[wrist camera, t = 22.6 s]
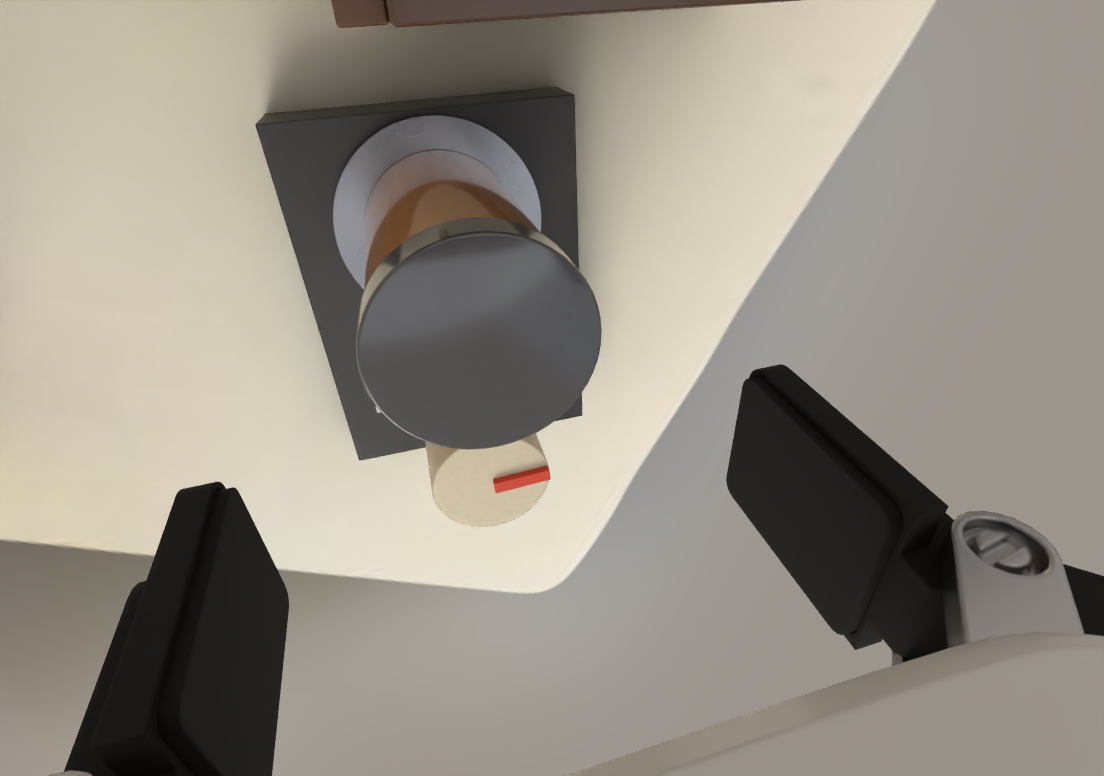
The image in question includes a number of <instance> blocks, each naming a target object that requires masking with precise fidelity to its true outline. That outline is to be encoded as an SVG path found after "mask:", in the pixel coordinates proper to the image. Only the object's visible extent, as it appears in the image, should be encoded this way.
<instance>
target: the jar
mask: <svg viewBox="0 0 1104 776" xmlns="http://www.w3.org/2000/svg"><path fill="white" fill-rule="evenodd" d="M600 345H601V318H600V313H599V309H598V304H597V301H596V299H595V296H594V294H593V291H592V289H591V288H590V286H589V284H588V282H587V281H586V279H585V277H584V276H583V275H582V274H581V272H580V271H579V270H578V269H577V267H576V266H575V265H574V264H573V262H572V261H571V260H570V259H569V257H568V256H567V255H566V254H565V252H564V251H563V250H561V249H560V248H559V247H558V246H557V245H556V244H555V243H554V242H553V241H551V240H550V239H549V238H547V237H546V236H544V235H543V234H541V233H540V232H539V230H538V229H537V228H536V226H535V225H534V224H533V222H532V221H531V220H530V219H529V217H528V216H527V215H526V213H525V212H524V211H523V209H522V208H521V207H520V206H519V204H518V203H517V202H516V200H515V199H514V198H513V196H512V195H511V194H510V193H509V191H508V190H507V189H506V187H505V186H504V185H503V183H502V182H501V181H500V180H499V178H498V177H497V176H496V175H495V174H494V173H493V172H492V171H491V170H490V169H489V168H488V167H486V166H485V165H484V164H482V163H481V162H479V161H477V160H475V159H474V158H472V157H469V156H467V155H464V154H461V153H457V152H453V151H445V150H431V151H425V152H420V153H417V154H414V155H411V156H408V157H406V158H404V159H402V160H400V161H399V162H397V163H396V164H394V165H393V166H392V167H391V168H389V169H388V170H387V171H386V172H385V173H384V174H383V175H382V177H381V178H380V179H379V180H378V182H377V183H376V185H375V187H374V188H373V190H372V192H371V195H370V197H369V199H368V203H367V207H366V213H365V291H364V293H363V295H362V299H361V302H360V306H359V310H358V318H357V333H356V353H357V363H358V368H359V373H360V376H361V379H362V382H363V384H364V387H365V389H366V391H367V393H368V395H369V396H370V398H371V400H372V401H373V403H374V404H375V405H376V407H377V408H378V409H379V410H380V412H381V413H382V414H383V415H384V416H385V417H386V418H387V419H388V420H389V421H391V422H392V423H393V424H394V425H396V426H397V427H398V428H400V429H401V430H403V431H404V432H406V433H408V434H410V435H411V436H413V437H415V438H418V439H420V440H422V441H425V442H427V443H431V444H434V445H438V446H441V447H447V448H454V449H468V450H471V449H486V448H492V447H499V446H502V445H506V444H510V443H513V442H516V441H519V440H521V439H524V438H526V437H528V436H530V435H532V434H535V433H537V432H538V431H540V430H542V429H543V428H545V427H546V426H548V425H550V424H551V423H552V422H554V421H555V420H556V419H557V418H559V417H560V416H561V415H562V414H563V413H564V412H565V411H566V410H567V409H568V408H570V407H571V405H572V404H573V403H574V402H575V401H576V399H577V398H578V397H579V396H580V394H581V393H582V391H583V390H584V388H585V387H586V385H587V384H588V381H589V379H590V377H591V375H592V373H593V371H594V368H595V365H596V363H597V360H598V355H599V350H600Z"/></svg>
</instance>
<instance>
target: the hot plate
mask: <svg viewBox="0 0 1104 776" xmlns="http://www.w3.org/2000/svg"><path fill="white" fill-rule="evenodd" d="M423 114H443V115H452V116H457V117H461V118H464V119H468V120H471V121H473V122H475V123H478V124H480V125H482V126H484V127H486V128H488V129H489V130H491V131H493V132H494V133H496V134H497V135H498V136H499V137H501V138H502V139H503V140H505V141H506V142H507V143H508V144H509V145H510V146H511V147H512V148H513V149H514V150H515V151H516V152H517V154H518V155H519V156H520V158H521V159H522V160H523V162H524V163H525V165H526V166H527V168H528V170H529V172H530V173H531V175H532V178H533V180H534V183H535V185H536V188H537V191H538V195H539V199H540V204H541V212H542V228H541V234H543V235H544V236H546V237H547V238H549V239H550V240H551V241H553V242H554V243H555V244H556V245H557V246H558V247H559V248H560V249H561V250H563V251H564V252H565V254H566V255H567V256H568V257H569V259H570V260H571V261H572V262H573V264H574V265H575V266H576V267H577V269H578V270H579V262H578V221H577V180H576V139H575V98H574V94H571V93H569V92H567V91H564V90H562V89H560V88H557V87H556V88H545V89H534V90H523V91H512V92H500V93H489V94H478V95H467V96H456V97H445V98H434V99H423V100H412V101H401V102H390V103H379V104H368V105H357V106H346V107H334V108H323V109H312V110H301V111H290V112H279V113H268V114H265V115H264V116H263V117H262V118H261V119H260V120H259V121H258V122H257V124H256V128H257V132H258V135H259V138H260V141H261V144H262V148H263V151H264V154H265V157H266V161H267V164H268V167H269V170H270V174H271V177H272V180H273V183H274V186H275V190H276V193H277V196H278V199H279V203H280V206H281V209H282V212H283V216H284V219H285V222H286V225H287V228H288V232H289V235H290V238H291V241H292V245H293V248H294V251H295V254H296V257H297V261H298V264H299V267H300V270H301V274H302V277H303V280H304V283H305V287H306V290H307V293H308V296H309V299H310V303H311V306H312V309H313V312H314V316H315V319H316V322H317V325H318V329H319V332H320V335H321V338H322V341H323V345H324V348H325V351H326V354H327V358H328V361H329V364H330V367H331V371H332V374H333V377H334V380H335V383H336V387H337V390H338V393H339V396H340V400H341V403H342V406H343V409H344V413H345V416H346V419H347V422H348V425H349V429H350V432H351V435H352V438H353V442H354V445H355V448H356V451H357V454H358V458H359V460H365V459H370V458H375V457H380V456H385V455H390V454H395V453H400V452H405V451H410V450H414V449H419V448H424V447H426V443H425V441H422V440H420V439H418V438H415V437H413V436H411V435H410V434H408V433H406V432H404V431H403V430H401V429H400V428H398V427H397V426H396V425H394V424H393V423H392V422H391V421H389V420H388V419H387V418H386V417H385V416H384V415H383V414H382V413H381V412H380V410H379V409H378V408H377V407H376V405H375V404H374V403H373V401H372V400H371V398H370V396H369V395H368V393H367V391H366V389H365V387H364V384H363V382H362V379H361V376H360V373H359V368H358V363H357V353H356V333H357V318H358V310H359V306H360V302H361V299H362V295H363V293H364V291H365V290H364V289H363V288H362V287H361V286H360V285H359V283H358V282H357V281H356V280H355V279H354V278H353V276H352V275H351V273H350V272H349V270H348V269H347V267H346V265H345V263H344V261H343V259H342V257H341V255H340V252H339V249H338V246H337V243H336V240H335V235H334V230H333V216H332V212H333V201H334V195H335V191H336V187H337V183H338V180H339V178H340V175H341V173H342V170H343V169H344V167H345V165H346V163H347V162H348V160H349V158H350V157H351V156H352V154H353V153H354V152H355V151H356V149H357V148H358V147H359V146H360V145H361V144H362V143H363V142H364V141H365V140H366V139H367V138H368V137H369V136H371V135H372V134H374V133H375V132H377V131H378V130H380V129H381V128H383V127H385V126H387V125H389V124H391V123H393V122H395V121H398V120H401V119H404V118H407V117H411V116H417V115H423ZM577 416H582V393H581V394H580V396H579V397H578V398H577V399H576V401H575V402H574V403H573V404H572V405H571V407H570V408H568V409H567V410H566V411H565V412H564V413H563V414H562V415H561V416H560V417H559V418H557V419H556V420H555V421H558V420H563V419H568V418H572V417H577Z"/></svg>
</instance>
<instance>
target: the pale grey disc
mask: <svg viewBox="0 0 1104 776" xmlns="http://www.w3.org/2000/svg"><path fill="white" fill-rule="evenodd" d="M431 150H445V151H453V152H457V153H461V154H464V155H467V156H469V157H472V158H474V159H475V160H477V161H479V162H481V163H482V164H484V165H485V166H486V167H488V168H489V169H490V170H491V171H492V172H493V173H494V174H495V175H496V176H497V177H498V178H499V180H500V181H501V182H502V183H503V185H504V186H505V187H506V189H507V190H508V191H509V193H510V194H511V195H512V196H513V198H514V199H515V200H516V202H517V203H518V204H519V206H520V207H521V208H522V209H523V211H524V212H525V213H526V215H527V216H528V217H529V219H530V220H531V221H532V222H533V224H534V225H535V226H536V228H537V229H538V230H539V232H540V233H541V228H542V212H541V204H540V199H539V195H538V191H537V188H536V185H535V183H534V180H533V178H532V175H531V173H530V172H529V170H528V168H527V166H526V165H525V163H524V162H523V160H522V159H521V158H520V156H519V155H518V154H517V152H516V151H515V150H514V149H513V148H512V147H511V146H510V145H509V144H508V143H507V142H506V141H505V140H503V139H502V138H501V137H499V136H498V135H497V134H496V133H494V132H493V131H491V130H489V129H488V128H486V127H484V126H482V125H480V124H478V123H475V122H473V121H471V120H468V119H464V118H461V117H457V116H452V115H443V114H423V115H417V116H411V117H407V118H404V119H401V120H398V121H395V122H393V123H391V124H389V125H387V126H385V127H383V128H381V129H380V130H378V131H377V132H375V133H374V134H372V135H371V136H369V137H368V138H367V139H366V140H365V141H364V142H363V143H362V144H361V145H360V146H359V147H358V148H357V149H356V151H355V152H354V153H353V154H352V156H351V157H350V158H349V160H348V162H347V163H346V165H345V167H344V169H343V170H342V173H341V175H340V178H339V180H338V183H337V187H336V191H335V195H334V201H333V212H332V216H333V230H334V235H335V240H336V243H337V246H338V249H339V252H340V255H341V257H342V259H343V261H344V263H345V265H346V267H347V269H348V270H349V272H350V273H351V275H352V276H353V278H354V279H355V280H356V281H357V282H358V283H359V285H360V286H361V287H362V288H363V289H364V290H365V213H366V207H367V203H368V199H369V197H370V195H371V192H372V190H373V188H374V187H375V185H376V183H377V182H378V180H379V179H380V178H381V177H382V175H383V174H384V173H385V172H386V171H387V170H388V169H389V168H391V167H392V166H393V165H394V164H396V163H397V162H399V161H400V160H402V159H404V158H406V157H408V156H411V155H414V154H417V153H420V152H425V151H431Z"/></svg>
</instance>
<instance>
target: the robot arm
mask: <svg viewBox="0 0 1104 776" xmlns="http://www.w3.org/2000/svg"><path fill="white" fill-rule="evenodd" d="M726 481H727V486H728V490H729V492H730V494H731V495H732V497H733V498H734V499H735V501H736V502H737V504H738V505H739V506H740V508H741V509H742V510H743V511H744V513H745V514H746V515H747V517H748V518H749V520H750V521H751V522H752V524H753V525H754V526H755V528H756V529H757V530H758V532H759V533H760V534H761V536H762V537H763V538H764V540H765V541H766V542H767V544H768V545H769V546H770V547H771V549H772V550H773V551H774V553H775V554H776V556H777V557H778V558H779V559H780V561H781V562H782V564H783V565H784V566H785V568H786V569H787V570H788V572H789V573H790V574H791V576H792V577H793V578H794V579H795V581H796V582H797V584H798V585H799V586H800V588H801V589H802V590H803V592H804V593H805V594H806V595H807V597H808V598H809V599H810V601H811V602H812V604H813V605H814V606H815V608H816V609H817V610H818V611H819V613H820V614H821V615H822V617H823V618H824V620H825V621H826V622H827V624H828V625H829V626H830V627H831V629H832V630H833V631H835V632H836V633H837V634H840V635H844V636H845V637H846V638H847V640H848V641H849V642H850V644H851V645H852V646H853V648H854V649H855V650H857V649H860V648H863V647H866V646H869V645H872V644H875V643H878V642H881V641H882V639H883V640H884V641H885V642H886V643H887V644H888V646H889V647H890V648H891V650H892V663H893V664H892V666H891V667H887V668H884V669H881V670H878V671H875V672H871V673H869V674H865V675H862V676H860V677H856V678H853V679H850V680H847V681H844V682H841V683H838V684H835V685H832V686H830V687H826V688H823V689H820V690H817V691H815V692H811V693H808V694H806V695H802V696H799V697H796V698H794V699H791V700H788V701H784V702H781V703H779V704H776V705H773V706H770V707H767V708H764V709H761V710H758V711H755V712H752V713H749V714H746V715H743V716H740V717H737V718H734V719H731V720H728V721H725V722H722V723H719V724H716V725H713V726H710V727H707V728H704V729H701V730H698V731H695V732H693V733H690V734H687V735H684V736H681V737H678V738H675V739H672V740H669V741H666V742H663V743H660V744H657V745H654V746H651V747H648V748H645V749H642V750H639V751H637V752H634V753H631V754H628V755H625V756H622V757H619V758H616V759H613V760H610V761H607V762H604V763H601V764H599V765H595V766H593V767H590V768H587V769H584V770H581V771H578V772H575V773H572V774H569V775H566V776H1104V576H1101V575H1098V574H1094V573H1091V572H1088V571H1085V570H1081V569H1078V568H1075V567H1071V566H1068V565H1065V564H1063V563H1062V560H1061V558H1060V556H1059V554H1058V552H1057V550H1056V548H1055V547H1054V546H1053V545H1052V544H1051V543H1050V542H1049V541H1048V540H1047V539H1046V538H1045V536H1043V535H1042V534H1040V533H1039V532H1038V531H1036V530H1035V529H1033V528H1032V527H1030V526H1029V525H1027V524H1025V523H1022V522H1021V521H1019V520H1017V519H1015V518H1012V517H1009V516H1005V515H1002V514H999V513H994V512H987V511H971V512H966V513H964V514H962V515H959V516H958V517H957V518H956V519H955V520H953V519H952V518H951V517H950V516H948V515H947V514H946V513H945V512H946V510H947V508H948V505H946V504H945V503H944V502H943V501H942V500H941V499H939V498H938V497H937V496H936V495H935V494H934V493H933V492H931V491H930V490H929V489H928V488H927V487H926V486H924V485H923V484H922V483H921V482H920V481H919V480H917V479H916V478H915V477H914V476H913V475H912V474H911V473H909V472H908V471H907V470H906V469H905V468H904V467H903V466H901V465H900V464H899V463H898V462H897V461H895V460H894V459H893V458H892V457H891V456H890V455H889V454H887V453H886V452H885V451H884V450H883V449H882V448H881V447H879V446H878V445H877V444H876V443H875V442H874V441H873V440H871V439H870V438H869V437H868V436H867V435H866V434H864V433H863V432H862V431H861V430H860V429H858V428H857V427H856V426H855V425H854V424H853V423H852V422H851V421H849V420H848V419H847V418H846V417H845V416H844V415H842V414H841V413H840V412H839V411H838V410H837V409H836V408H834V407H833V406H832V405H831V404H830V403H829V402H827V401H826V400H825V399H824V398H823V397H822V396H821V395H819V394H818V393H817V392H816V391H815V390H814V389H812V388H811V387H810V386H809V385H808V384H807V383H805V382H804V381H803V380H802V379H801V378H800V377H799V376H797V375H796V374H795V373H794V372H793V371H792V370H790V369H789V368H788V367H787V366H785V365H775V366H771V367H766V368H761V369H757V370H754V371H753V372H752V373H751V374H750V377H749V379H746V380H745V381H744V383H743V387H742V394H741V399H740V405H739V410H738V415H737V421H736V427H735V433H734V439H733V444H732V449H731V455H730V461H729V466H728V472H727V479H726ZM288 610H289V599H288V593H287V589H286V587H285V584H284V583H283V580H282V578H281V576H280V575H279V572H278V570H277V568H276V566H275V564H274V562H273V560H272V558H271V556H270V554H269V552H268V550H267V548H266V546H265V544H264V542H263V540H262V538H261V536H260V534H259V532H258V530H257V528H256V526H255V524H254V522H253V520H252V518H251V516H250V514H249V512H248V510H247V508H246V506H245V504H244V502H243V500H242V498H241V496H240V494H239V492H238V490H237V489H236V488H228V489H226V488H225V487H224V485H223V484H222V483H221V482H214V483H209V484H204V485H200V486H195V487H190V488H185V489H181V490H180V491H178V493H177V495H176V497H175V500H174V503H173V506H172V509H171V511H170V514H169V517H168V520H167V523H166V526H165V529H164V532H163V535H162V537H161V540H160V543H159V546H158V549H157V552H156V555H155V558H154V561H153V563H152V567H151V569H150V573H149V575H148V578H147V581H144V582H140V583H138V584H137V585H136V586H135V587H134V588H133V589H132V591H131V593H130V595H129V597H128V599H127V602H126V604H125V607H124V610H123V613H122V615H121V618H120V621H119V623H118V626H117V629H116V632H115V634H114V637H113V640H112V642H111V645H110V648H109V651H108V653H107V656H106V659H105V661H104V664H103V667H102V670H101V672H100V675H99V678H98V680H97V683H96V686H95V689H94V691H93V694H92V697H91V700H90V702H89V705H88V708H87V710H86V713H85V716H84V719H83V721H82V724H81V727H80V729H79V732H78V735H77V738H76V740H75V743H74V746H73V748H72V751H71V754H70V757H69V759H68V762H67V765H66V767H65V770H64V772H61V773H57V774H52V775H50V776H272V769H273V759H274V749H275V740H276V730H277V719H278V710H279V700H280V690H281V680H282V670H283V660H284V650H285V641H286V631H287V621H288Z"/></svg>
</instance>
